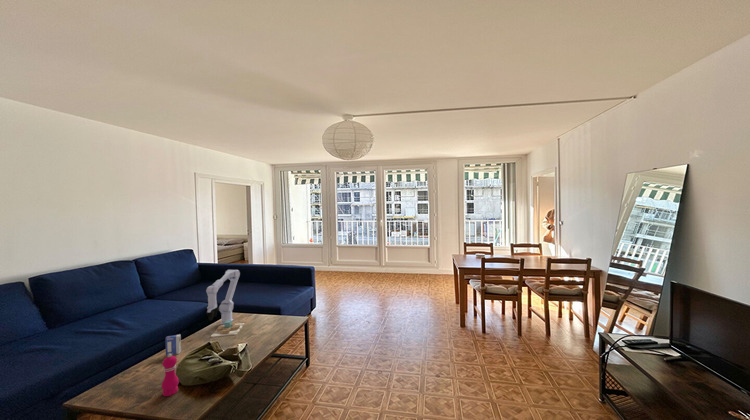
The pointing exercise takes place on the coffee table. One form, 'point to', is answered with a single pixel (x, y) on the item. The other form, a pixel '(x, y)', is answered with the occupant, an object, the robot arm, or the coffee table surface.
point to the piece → (228, 324)
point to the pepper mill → (170, 376)
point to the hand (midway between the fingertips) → (212, 318)
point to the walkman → (173, 344)
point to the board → (233, 332)
